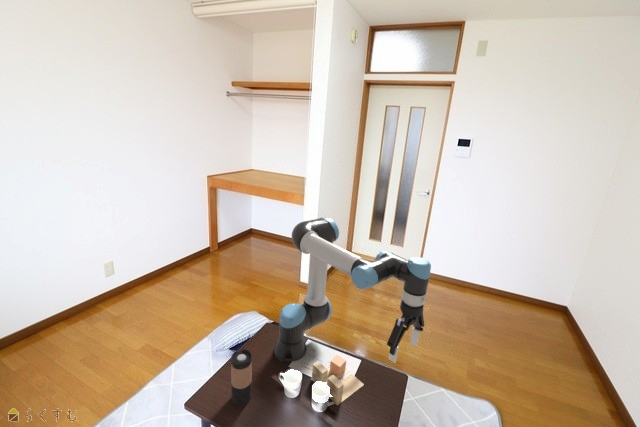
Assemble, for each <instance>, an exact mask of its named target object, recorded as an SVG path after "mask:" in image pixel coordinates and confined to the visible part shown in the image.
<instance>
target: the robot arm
mask: <svg viewBox="0 0 640 427" xmlns="http://www.w3.org/2000/svg"><path fill="white" fill-rule="evenodd" d="M339 236H340V229H339V226H338V224H337V223H336V221H335V220H334V219H332V218H331V217H327V216H326V217H319V218H315V219H309V220H303V221H300V222H299V223H298V224H296V225H295V226H294V228H293V229H292V232H291V242H292V245H293V246H294V247H295V248H296V249H297V250H298V251H300V252H301V253H303V254H305V255H309V264H308V277H307V278H308V280H307V293H306V294H305V295H304V297H303V303H302V304H300V303H297V302H296V303H287V305H284V306H283V307H282V309H281V310H280V314H279V318H278V322H279V326H278V339H277V342H276V343H275V346H274V355H275V358H276V359H277V360H278V361H279V362H281V363H282V364H285V363H287V362H291V363H293V362H297V361H300V360H301V359H303V358H304V357H305V355H306V354H307V344H306V340H305V332H306V331H308V330H310V329H313V328H315V327H316V326H318V325H321V324H323V323H324V322H326V321H328V320H329V319H330V317H331V315H332V312H333V311H332V310H333V309H332V305H331V302H330V300H329V298H328V297H327V295H326V288H327V276H328V267H329V265H330V266H332V267H333V268H334V269H336V270H338V271H340V272H341V273H344V274H345V275H347V276H349V277H350V278H351V281H352V284H354V285H355V287H357V289H358V290H359V289H360V290H367V289H369V288H372V287H375V286H376V285H378V284H380V283H382V282H385V281H387V280H389V279H391V278H394V279H396V280H399V281H400V282H403V289H402V294H401V300H400V305H399V310H400V311H401V313H402V314H401V317H400V318H399V317H396V319H395V323H394V326H393V328H392V331H391V333H390V334H389V337H388V340H387V343H386V346H387V347H389V353H388V360H390V361H391V362H392V363H394V364H396V363H397V358H398V353H399V348H400V347H399V344H400V343H401V341H402V339H403V337H404V335H405V333H406V332H407V331H408V330H409V329H410V327H411V326H413V327H412V329H411V334H410V339H409V343H410V344H411V345H413V346H414V347H417V346H418V343H419V337H420V333H421V332H423V331H424V328H423V327H425V321H424V320H425V319H424V304H425V301H426V300H427V298H426V296H427V295H426V294H427V290H428V287H429V286H428V285H429V282H430V277H431V270H432V264H431V262H430V261H429V260H428V259H426V258H424V257H419V256H411V257H410V258H409V259H406V258H404V257H401V256H399V255H397V254H395V253H394V252H391V251H387V250H382V251H379V253H378V254H376V256H375V258H374V260H372V261H369V260H367V259H365V258H363V257H360V256H359V255H357V254H355V253H353V252H351V251H349V250H347V249H345V248H342V247H341V246H338V245H337V244H335V243H334V242H336V241H337V240H338V239H339Z"/></svg>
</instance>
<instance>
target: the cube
mask: <svg viewBox="0 0 640 427" xmlns="http://www.w3.org/2000/svg"><path fill="white" fill-rule="evenodd" d="M329 367H330V371H332V372H333V373H335V374H336V375H338V376H340V375H341V374H342V373H343V372H344V370H345V368H346V367H347V360H346V359H344V358H343V357H342V356H340V355H338V354H336V355H335V356H334V357H333V358H332V359H331V360H330V365H329ZM346 369H347V368H346Z"/></svg>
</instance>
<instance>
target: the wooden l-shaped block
mask: <svg viewBox="0 0 640 427" xmlns="http://www.w3.org/2000/svg"><path fill="white" fill-rule="evenodd" d="M327 385H328V386H329V387H330V394H331V395H332V396H333V397H331V398H329V399H330V400H331V401H332V402H333V403H334V404H335V405H336V406H339V405H340V404H341V403H342V402H344V401H345V400H346V399H348V398H349V397H350V396H352V395H353V394H354V393H355V392H357V391H358V390H360V388H362V387H364V385H365V384H364V383H363V382H362V381H361V380H360V379H358V378H357V377H356V376H355V375H354V374H352V373H351V374H350V375H348V376H347V377H346V378H344V379H343V380H341V381H340V379H339V378H338V379H337V378H336V377H335V376H334V375H332V376H330V377H329V378H328V379H327Z"/></svg>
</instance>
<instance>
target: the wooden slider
mask: <svg viewBox="0 0 640 427" xmlns="http://www.w3.org/2000/svg"><path fill="white" fill-rule="evenodd" d="M348 372H349V370H348V369H347V368H345V370H344V372H343V373H342V374H341V375H340V376H338V375H336V374H335V373H333V372H332V371H330V366H328V367H326V366H325V365H323V363H321V362H320V361H319V360H318V361H316V362H314V363H313V364H312V373H311V378H310V380H311V381H312V382H313V383H314V382H316V381H322V382H327V379H328V378H329V377H330V376H332V375H334V376H335V377H336V378H337V379H338V380H339V378H341V377H343V376H344V375H345V374H347V373H348Z"/></svg>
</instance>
